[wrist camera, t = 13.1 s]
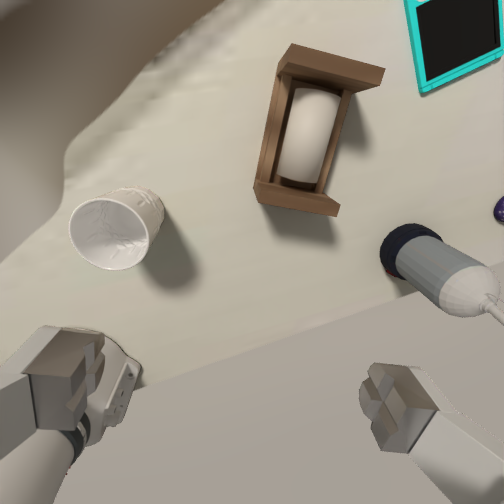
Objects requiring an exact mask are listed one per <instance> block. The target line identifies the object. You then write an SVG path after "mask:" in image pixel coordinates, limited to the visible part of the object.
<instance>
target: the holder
mask: <svg viewBox="0 0 504 504" xmlns="http://www.w3.org/2000/svg"><path fill="white" fill-rule="evenodd" d="M385 69H386V68H382V67H378V66H375V65H371V64H367V63H363V62H360V61H356V60H352V59H348V58H345V57H341V56H337V55H334V54H330V53H326V52H322V51H319V50H315V49H311V48H307V47H304V46H300V45H296V44H293V43H292V44H291V45H290V47H289V48H288V50H287V51H286V53H285V54H284V55H283V57H282V58H281V60H280V61H279V63H278V67H277V72H276V77H275V82H274V87H273V92H272V97H271V102H270V107H269V112H268V117H267V122H266V127H265V132H264V137H263V142H262V147H261V152H260V157H259V162H258V167H257V172H256V177H255V182H254V187H253V189H254V192H255V195H256V198H257V201H258V203H263V204H269V205H274V206H279V207H285V208H290V209H296V210H301V211H306V212H312V213H317V214H323V215H328V216H334V217H337V214H338V211H339V208H340V204H339V203H337V202H336V201H334V200H333V199H331V198H330V197H329V196H327V195H326V194H324V193H323V189H324V185H325V182H326V179H327V175H328V172H329V169H330V165H331V162H332V159H333V155H334V152H335V148H336V145H337V142H338V138H339V135H340V132H341V128H342V125H343V122H344V118H345V115H346V112H347V108H348V105H349V102H350V98H351V95H352V94H353V93H357V92H360V91H364V90H367V89H370V88H374V87H377V86H380V84H381V81H382V78H383V75H384V72H385ZM297 88H308V89H317V90H322V91H325V92H329V93H332V94H335V95H337V96H339V97H341V100H340V104H339V107H338V111H337V115H336V118H335V122H334V125H333V129H332V132H331V136H330V139H329V143H328V146H327V150H326V153H325V157H324V160H323V164H322V167H321V171H320V174H319V178H318V181H317V183H308V182H298V181H294V180H290V179H288V178H286V177H283V176H280V175H278V174H276V173H277V169H278V164H279V160H280V155H281V151H282V147H283V142H284V138H285V133H286V129H287V124H288V120H289V116H290V111H291V107H292V102H293V98H294V94H295V89H297Z"/></svg>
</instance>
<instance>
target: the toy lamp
mask: <svg viewBox="0 0 504 504" xmlns="http://www.w3.org/2000/svg"><path fill="white" fill-rule="evenodd" d="M494 215H495V217H496V219H497V220H499V221H502V222H504V196H503V197H502V198H501V199H500V200H499V201H498V203H497V205H496V206H495V209H494Z"/></svg>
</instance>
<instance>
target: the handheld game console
mask: <svg viewBox="0 0 504 504" xmlns="http://www.w3.org/2000/svg"><path fill="white" fill-rule="evenodd" d="M403 1H404V7H405V13H406V18H407V24H408V30H409V36H410V42H411V48H412V54H413V60H414V66H415V72H416V78H417V84H418V90H419V92H420V93H425V92H427V91H430V90H431V89H434V88H436V87H438V86H441V85H443V84H445V83H447V82H449V81H451V80H453V79H455V78H457V77H459V76H461V75H463V74H465V73H468V72H470V71H472V70H474V69H476V68H478V67H480V66H482V65H484V64H487V63H489V62H491V61H493V60H495V59H497V58H499V57H501V56H502V55H503V54H504V50H503V49H504V33H503V14H502V0H403Z"/></svg>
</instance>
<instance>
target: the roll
mask: <svg viewBox="0 0 504 504" xmlns="http://www.w3.org/2000/svg"><path fill="white" fill-rule="evenodd" d="M340 100H341V97H339V96H337V95H335V94H332V93H329V92H325V91H322V90H317V89H308V88H297V89H295V94H294V98H293V102H292V107H291V111H290V116H289V120H288V124H287V129H286V133H285V138H284V142H283V147H282V151H281V155H280V160H279V164H278V169H277V173H276V174H278V175H280V176H283V177H286V178H288V179H290V180H294V181H298V182H308V183H317V181H318V178H319V174H320V171H321V167H322V164H323V160H324V157H325V153H326V150H327V146H328V143H329V139H330V136H331V132H332V129H333V125H334V122H335V118H336V115H337V111H338V107H339V104H340Z"/></svg>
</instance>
